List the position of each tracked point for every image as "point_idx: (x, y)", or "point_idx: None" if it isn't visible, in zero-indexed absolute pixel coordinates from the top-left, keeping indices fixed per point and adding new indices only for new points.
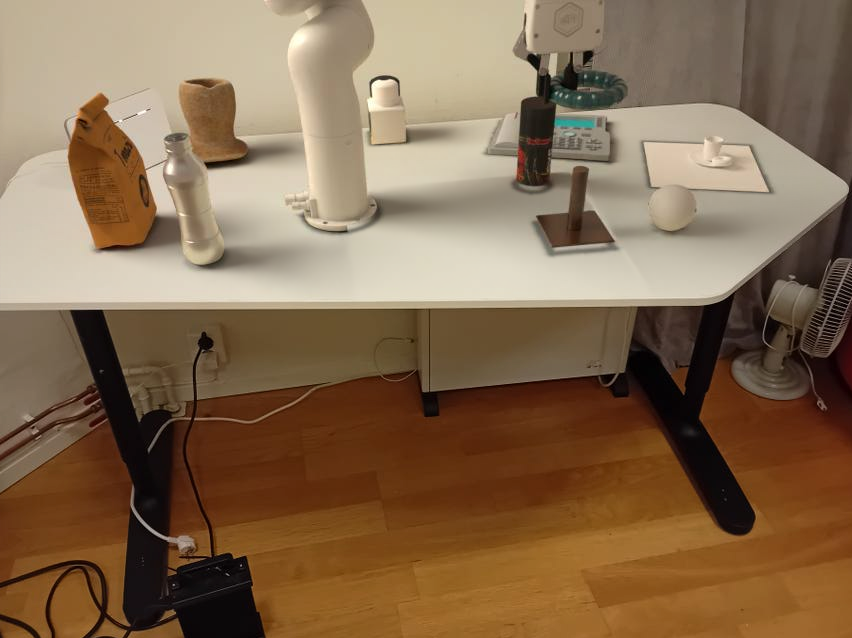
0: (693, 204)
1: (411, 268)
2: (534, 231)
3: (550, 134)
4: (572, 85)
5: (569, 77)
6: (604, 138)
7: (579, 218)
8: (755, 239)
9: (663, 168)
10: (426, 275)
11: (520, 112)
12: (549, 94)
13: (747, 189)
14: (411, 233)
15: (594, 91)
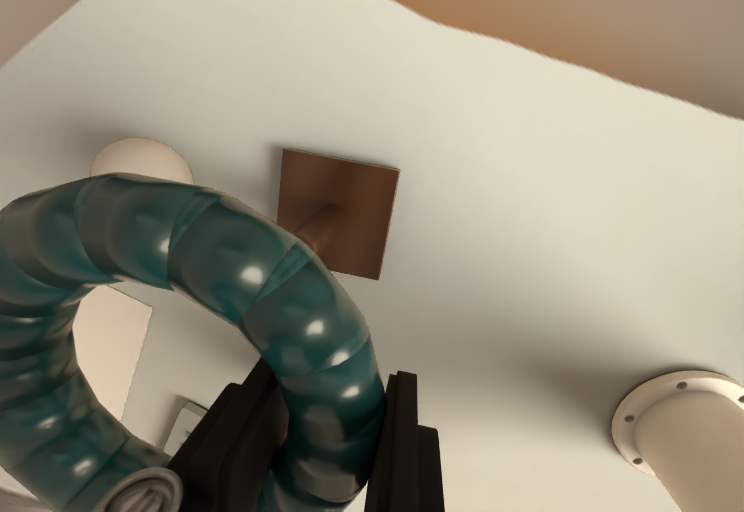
0: (102, 150)
1: (664, 214)
2: (393, 251)
3: (282, 442)
4: (245, 399)
5: (240, 458)
6: (170, 454)
7: (325, 208)
8: (47, 89)
9: (115, 350)
10: (651, 181)
11: None
12: (389, 403)
13: None
14: (598, 323)
15: (141, 264)
